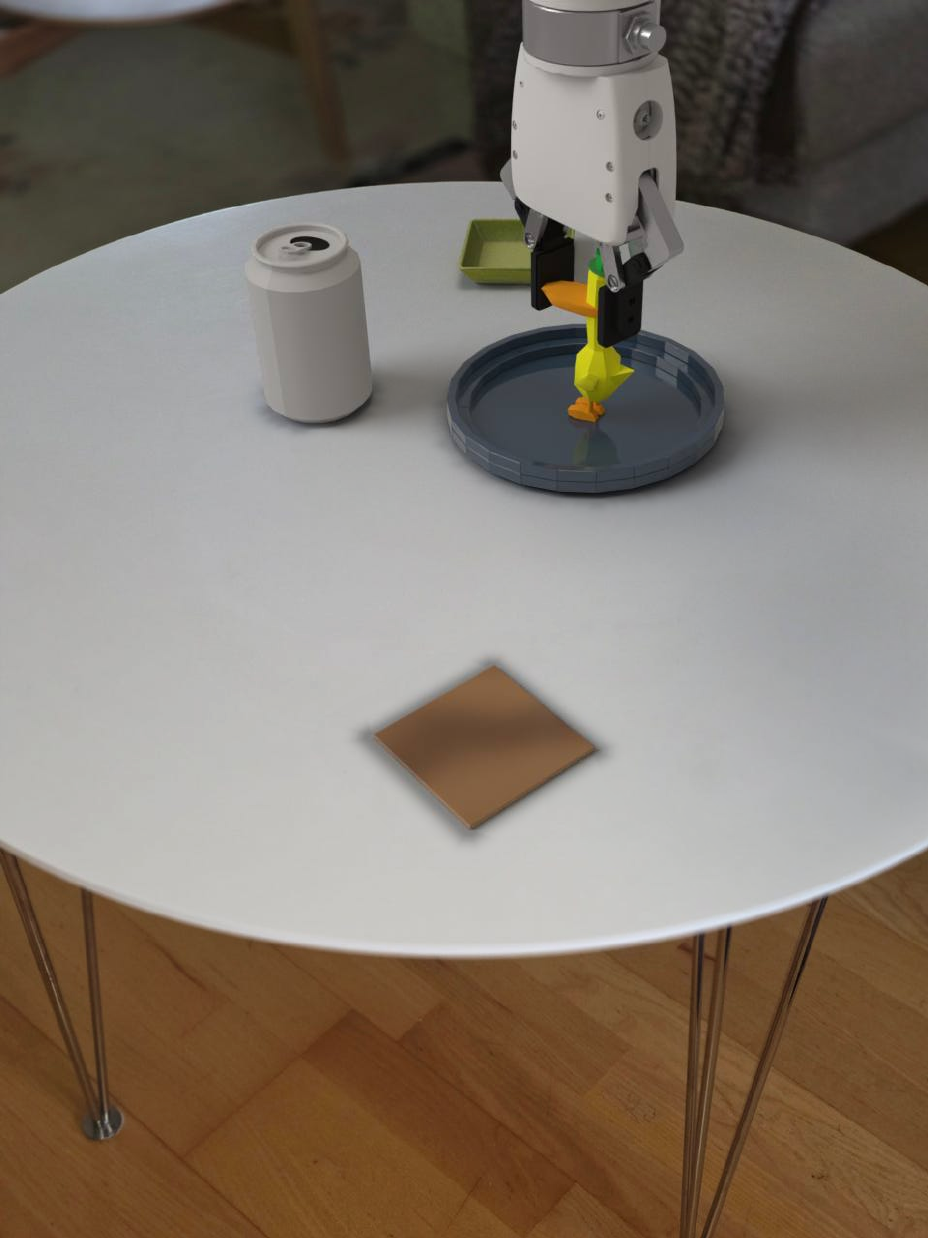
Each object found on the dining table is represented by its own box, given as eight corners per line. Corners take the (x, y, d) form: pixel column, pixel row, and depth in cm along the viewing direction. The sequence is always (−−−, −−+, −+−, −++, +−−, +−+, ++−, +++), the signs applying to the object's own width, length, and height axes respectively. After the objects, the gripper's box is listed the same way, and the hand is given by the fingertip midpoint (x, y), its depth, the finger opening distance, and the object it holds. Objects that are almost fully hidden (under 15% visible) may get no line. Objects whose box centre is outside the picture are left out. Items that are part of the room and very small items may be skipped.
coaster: (594, 752, 69) (594, 746, 69) (470, 831, 65) (470, 826, 65) (494, 669, 74) (494, 664, 73) (373, 739, 70) (372, 734, 70)
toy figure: (527, 410, 91) (532, 245, 83) (552, 384, 94) (559, 221, 85) (618, 439, 89) (633, 273, 81) (641, 412, 91) (658, 248, 83)
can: (395, 389, 96) (380, 228, 88) (331, 442, 91) (310, 277, 83) (309, 363, 99) (288, 205, 91) (244, 413, 94) (216, 251, 86)
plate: (779, 425, 90) (783, 397, 89) (573, 537, 82) (573, 508, 81) (593, 324, 101) (594, 297, 100) (395, 414, 93) (392, 386, 92)
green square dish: (457, 291, 106) (456, 267, 105) (470, 241, 113) (469, 217, 111) (570, 293, 105) (570, 268, 104) (576, 242, 112) (576, 218, 110)
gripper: (754, 47, 71) (725, 351, 83) (540, -24, 82) (541, 256, 94) (650, 84, 68) (635, 396, 80) (441, 6, 79) (455, 292, 90)
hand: (585, 317), depth 87 cm, fingers closed on toy figure, 5 cm apart
